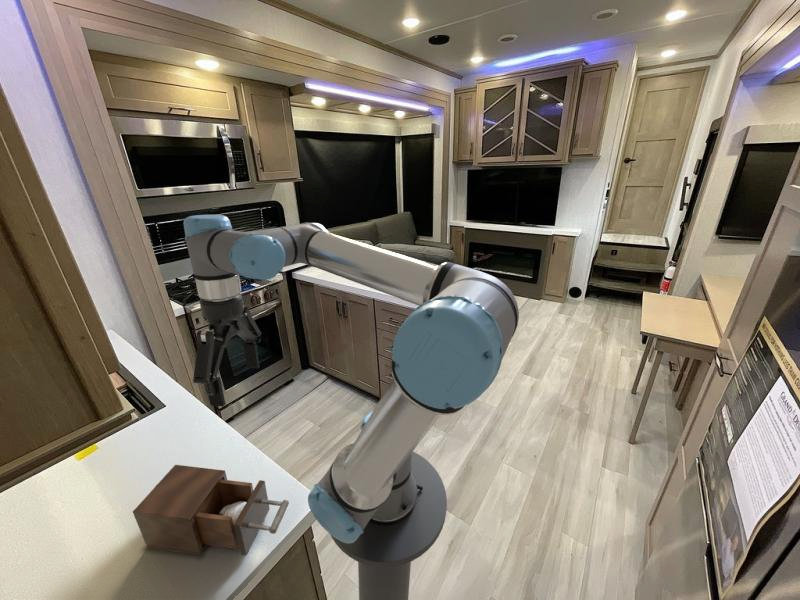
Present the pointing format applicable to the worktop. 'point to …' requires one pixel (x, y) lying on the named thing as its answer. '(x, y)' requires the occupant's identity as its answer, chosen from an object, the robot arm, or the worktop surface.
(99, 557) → the worktop surface
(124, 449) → the worktop surface
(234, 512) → the white rounded lump
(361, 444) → the robot arm
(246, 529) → the drawer
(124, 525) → the worktop surface
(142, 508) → the cabinet
